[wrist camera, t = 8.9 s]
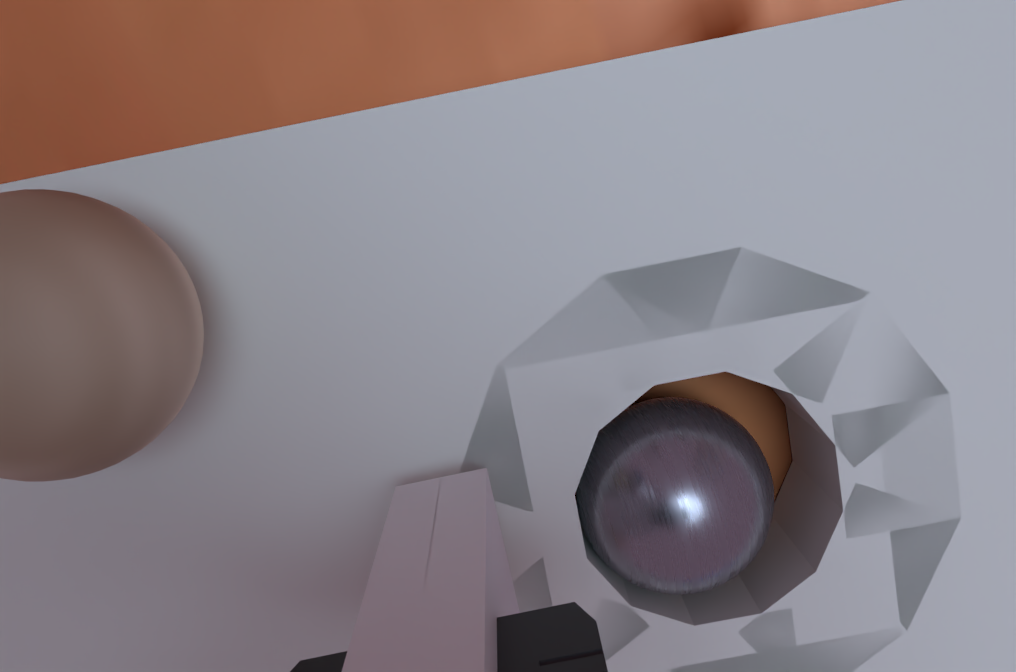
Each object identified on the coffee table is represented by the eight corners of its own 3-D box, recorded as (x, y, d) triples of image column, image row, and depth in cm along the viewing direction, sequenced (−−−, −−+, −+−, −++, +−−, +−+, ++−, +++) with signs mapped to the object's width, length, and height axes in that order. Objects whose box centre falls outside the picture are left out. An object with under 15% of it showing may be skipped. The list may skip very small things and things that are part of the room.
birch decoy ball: (35, 449, 14) (-149, 559, 10) (-43, 212, 13) (-276, 232, 9) (266, 404, 14) (173, 498, 10) (203, 163, 13) (75, 161, 9)
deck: (-143, 928, 19) (-241, 1043, 16) (-419, 282, 16) (-588, 304, 13) (1002, 723, 18) (1082, 811, 15) (941, 6, 15) (1028, -26, 13)
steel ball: (623, 620, 13) (836, 550, 13) (552, 408, 14) (748, 347, 14) (606, 622, 16) (775, 566, 16) (550, 451, 17) (708, 401, 17)
